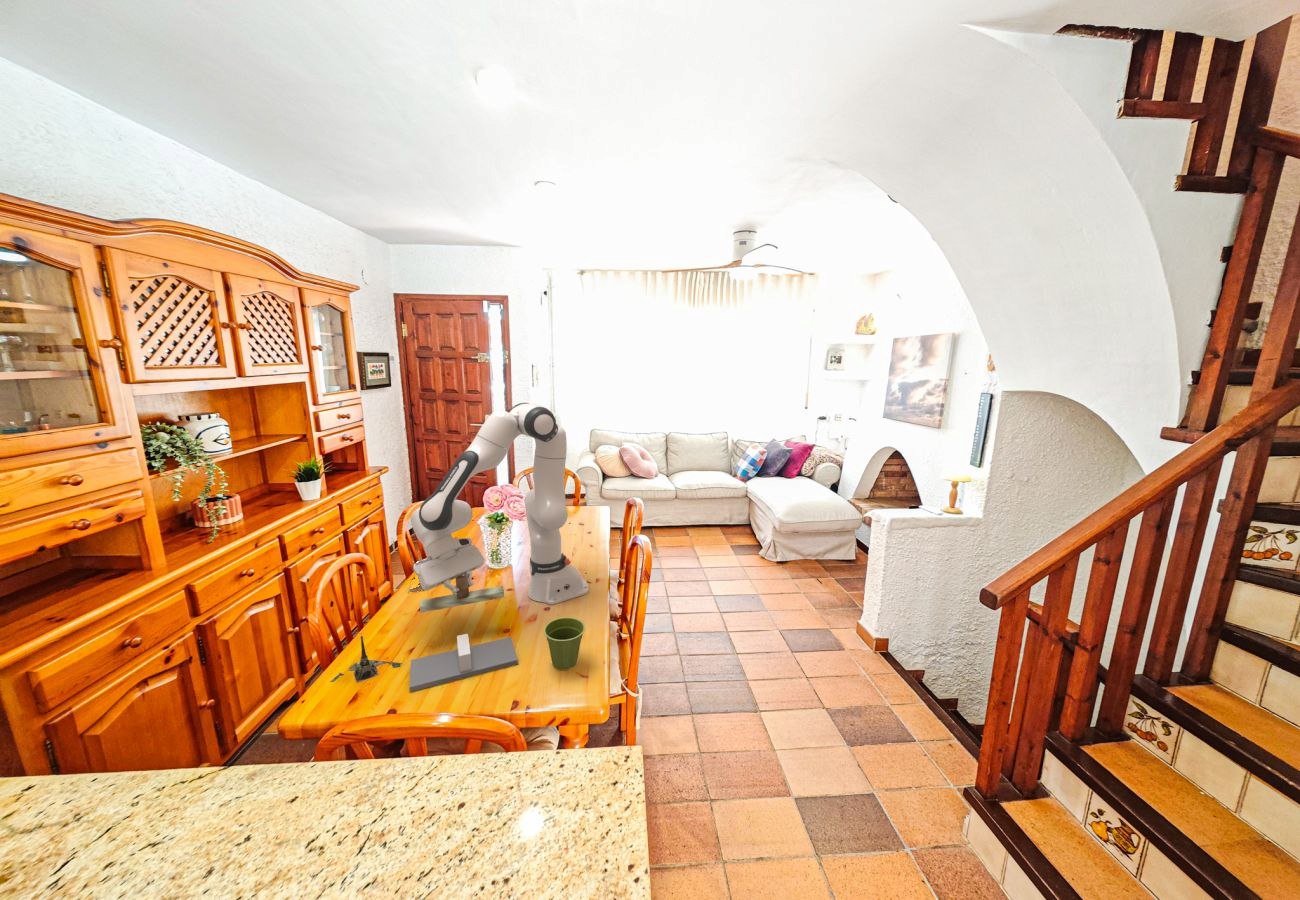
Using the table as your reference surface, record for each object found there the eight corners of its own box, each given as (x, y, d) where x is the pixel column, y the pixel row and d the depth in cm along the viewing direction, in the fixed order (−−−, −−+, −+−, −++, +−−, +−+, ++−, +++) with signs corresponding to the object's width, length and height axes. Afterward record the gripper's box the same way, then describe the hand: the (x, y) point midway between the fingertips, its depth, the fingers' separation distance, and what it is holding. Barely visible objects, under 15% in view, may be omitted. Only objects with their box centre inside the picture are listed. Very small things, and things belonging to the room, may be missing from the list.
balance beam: (503, 591, 150) (501, 568, 148) (504, 597, 146) (502, 574, 144) (421, 605, 141) (418, 582, 139) (420, 612, 137) (417, 588, 135)
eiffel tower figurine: (404, 664, 133) (400, 623, 130) (381, 689, 123) (376, 645, 120) (356, 660, 135) (351, 619, 132) (329, 684, 125) (323, 640, 122)
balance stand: (511, 640, 144) (510, 622, 143) (518, 664, 134) (517, 644, 132) (411, 664, 132) (409, 644, 131) (409, 692, 122) (407, 670, 120)
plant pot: (588, 672, 131) (588, 637, 129) (545, 679, 128) (545, 643, 125) (582, 646, 142) (582, 614, 140) (543, 653, 139) (542, 619, 137)
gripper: (413, 559, 135) (435, 599, 132) (474, 536, 152) (495, 572, 148) (407, 568, 139) (428, 608, 135) (467, 545, 155) (487, 580, 152)
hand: (463, 589), depth 142 cm, fingers closed on balance beam, 3 cm apart
